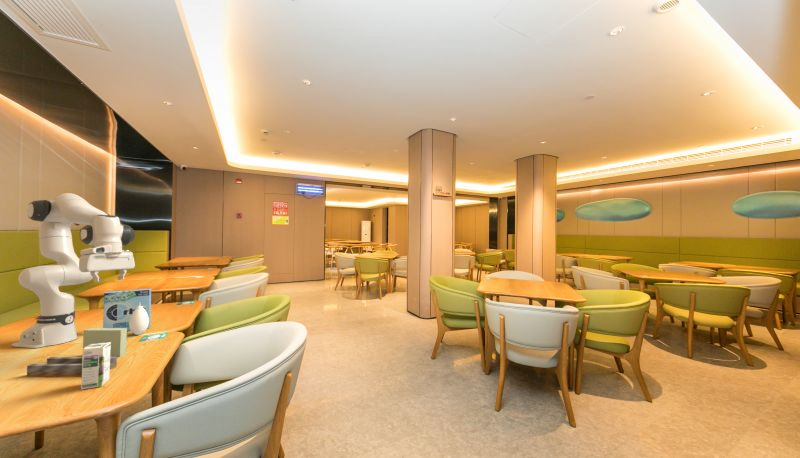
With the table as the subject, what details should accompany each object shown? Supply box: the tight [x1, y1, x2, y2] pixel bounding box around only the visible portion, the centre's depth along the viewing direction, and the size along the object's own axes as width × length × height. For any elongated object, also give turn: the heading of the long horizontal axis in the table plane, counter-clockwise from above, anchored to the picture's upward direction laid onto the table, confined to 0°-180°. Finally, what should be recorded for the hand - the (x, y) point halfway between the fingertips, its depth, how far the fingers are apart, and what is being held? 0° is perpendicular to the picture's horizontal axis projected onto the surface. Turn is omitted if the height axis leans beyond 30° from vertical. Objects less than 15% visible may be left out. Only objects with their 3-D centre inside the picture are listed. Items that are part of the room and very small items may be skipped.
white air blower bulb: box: [129, 303, 149, 336], centre depth 159 cm, size 8×8×18 cm
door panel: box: [82, 327, 128, 358], centre depth 131 cm, size 16×3×12 cm, turn 93°
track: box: [26, 356, 118, 377], centre depth 116 cm, size 26×8×4 cm, turn 93°
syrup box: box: [80, 342, 111, 391], centre depth 106 cm, size 6×6×14 cm
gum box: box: [102, 288, 152, 332], centre depth 165 cm, size 20×5×23 cm, turn 123°
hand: (109, 280), depth 129 cm, fingers open, 8 cm apart
